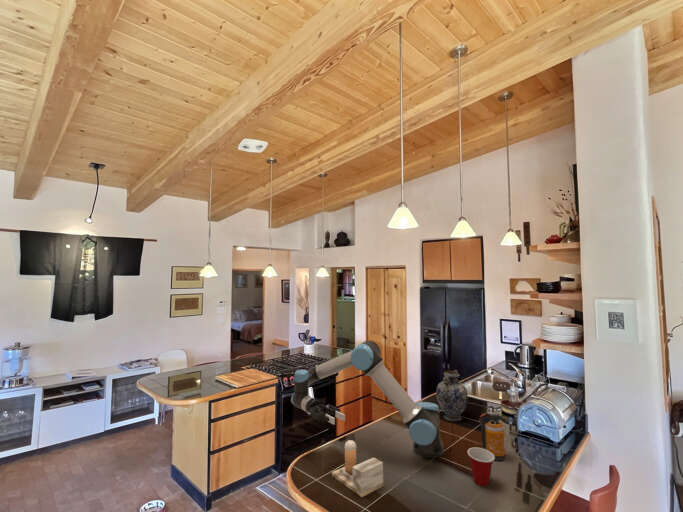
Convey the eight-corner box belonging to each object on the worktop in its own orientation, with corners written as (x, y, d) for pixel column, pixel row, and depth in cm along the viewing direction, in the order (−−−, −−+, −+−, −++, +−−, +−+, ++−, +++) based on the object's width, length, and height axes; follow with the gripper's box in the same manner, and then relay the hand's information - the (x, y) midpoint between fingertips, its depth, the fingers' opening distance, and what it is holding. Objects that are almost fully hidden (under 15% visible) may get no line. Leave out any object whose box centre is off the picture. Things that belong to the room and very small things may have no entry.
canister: (507, 462, 164) (506, 418, 166) (482, 460, 166) (481, 416, 168) (503, 453, 173) (501, 411, 174) (479, 451, 175) (477, 409, 177)
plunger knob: (342, 472, 155) (342, 440, 156) (351, 468, 158) (351, 436, 159) (350, 477, 151) (349, 444, 152) (359, 473, 154) (358, 441, 155)
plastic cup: (488, 493, 141) (487, 462, 142) (463, 482, 149) (462, 453, 150) (500, 482, 148) (499, 453, 149) (476, 472, 156) (474, 444, 157)
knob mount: (331, 475, 155) (331, 453, 156) (352, 466, 163) (352, 445, 163) (361, 497, 140) (361, 472, 140) (383, 485, 147) (382, 462, 148)
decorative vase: (443, 409, 231) (442, 365, 233) (472, 415, 220) (471, 370, 222) (431, 420, 214) (430, 373, 215) (462, 427, 203) (461, 378, 204)
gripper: (326, 409, 185) (354, 422, 167) (296, 417, 174) (323, 433, 156) (326, 394, 186) (354, 406, 168) (296, 402, 175) (323, 416, 156)
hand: (339, 419), depth 162 cm, fingers open, 5 cm apart
